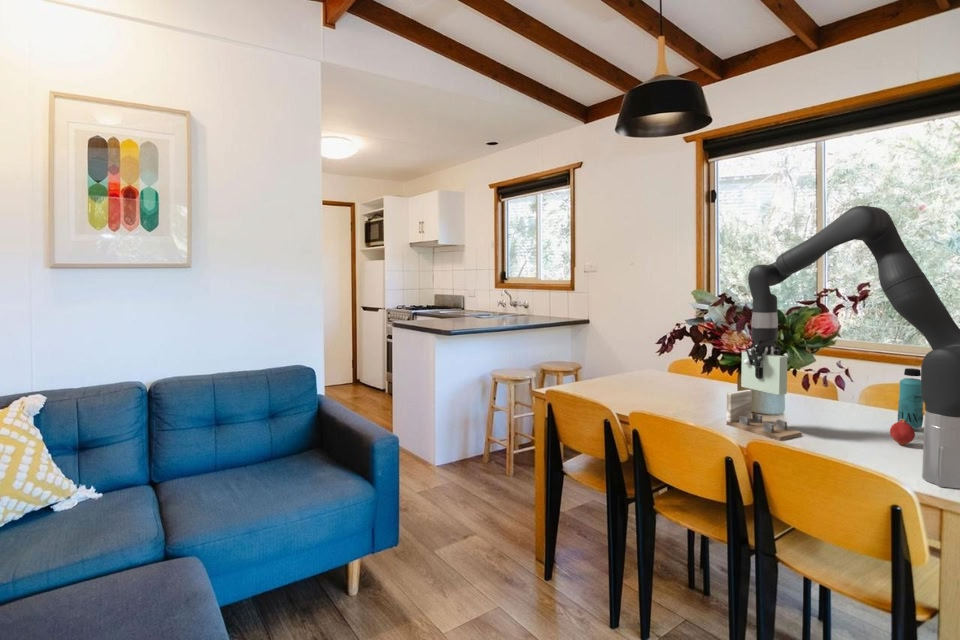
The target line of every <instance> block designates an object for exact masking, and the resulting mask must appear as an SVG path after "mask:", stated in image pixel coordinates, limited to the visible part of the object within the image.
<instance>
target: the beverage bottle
mask: <svg viewBox="0 0 960 640" xmlns="http://www.w3.org/2000/svg"><path fill="white" fill-rule="evenodd" d="M903 375H904V376H907V378H906V377H904V378H902V379H901V380H899V393H898V406H897V422H899V421H900V420H901V419H904V420H905V421H906V422H907V423H908V424H909V425H911V426H912V427H913V428H914V429H916V428H922V427H923V423H924V416H925V411H924V401H923V399H922V394H921V378H920V379H919V378H913V377H921V369H919V368H910V367H908V368H905V369H904V373H903ZM909 377H910V378H909ZM897 422H896V423H897Z"/></svg>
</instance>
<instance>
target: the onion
mask: <svg viewBox="0 0 960 640" xmlns="http://www.w3.org/2000/svg"><path fill="white" fill-rule="evenodd" d="M889 434H890V435H889V436H890V437H891V438H892V439H893V441H895V442H896V443H898V445H900V446H905V445H907V444H910V443H911V442H912V441H914V439H915V437H916V431H915V428H914V427H912V426H911V425H909V424H908V423H907V422H906V421H905V420H904V419H901V420H900V421H899V422H895V423H893V424H892V425H891V426H890V428H889Z"/></svg>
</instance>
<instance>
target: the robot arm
mask: <svg viewBox="0 0 960 640" xmlns="http://www.w3.org/2000/svg"><path fill="white" fill-rule="evenodd" d="M855 240H856V241H861V242H863V244H864V245H866V247H867V248H868V250H869V251H870V252H871V254H872V255H873V258H874V259H875V261H876V264H877V270H878V273H877V275H878V280H879V284H880V287H881V289H882V290H881V291H883V293H884V295H885V297H886V298H887V300H888V302H889V304H890V305H891V306H892V308H893V309H894V310H895V312H896V313H898V314H899V315H900V316H901V317H902V318H903V319H904V320H905V321H906V322H908V323H909V324H910V325H912V326H913V327H914V328H915V329H916V330H918V331H919V332H920V334H921V335H922V336H923V337H924V338H925V340H926V341H927V343H928V345H929V346H930V347H931V350H930V351H929V352H928V353H926V354H925V356H924V357H923V359H922V362H921V367H920V368H921V369H920V372H921V376H920V380H921V394H922V399H923V401H924V402H923V404H924V420H923V425H924V426H923V445H922V446H923V447H922V472H921V473H922V474H921V477H922V479H923V480H925V481H926V482H929V483H932V484H934V485H937V486H938V487H941V488H942V487H943V488H951V489H959V490H960V327H959V325H957V323H956V322H955V320H954V319H953V317H952V315H951V313H949V311H948V309H947V307H946V306H945V305H944V304H945V303H943V301H942V300H941V298H940V297H939V295H938V294H937V292H936V290H935V289H934V287H933V285H932V284H931V282H930V280H929V279H928V277H927V276H926V274H925V273H924V272H923V271H922V269H921V267H920V265H919V264H918V263H917V261H916V260H915V258H914V256H913V255H912V254H911V252H910V251H909V250H908V248H907V247H906V246H905V244H904V242H903V240H902V238H901V235H900V234H899V231H898V230H897V227H896V225H895V223H894V221H893V219H892V217H891V215H890V214H889V213H888V212H887V210H885V209H883V208H881V207H876V206H869V205H857V206H854V207H851V208H849V209H848V210H847V211H845V212H844V213H842V214H841V215H840V216H838V217H837V218H835V220H833V221H832V222H830V224H828V225H827V226H825V227H823V228H822V229H821V230H820V231H818V232H817V233H815V234H814V235H812V236H811V237H810V238H808V239H807V240H804V241H802V242H801V243H799V244H797V245H795V246H794V247H792V248H790V249H788V250H787V251H785V252H783V253H781V254H779V256H777V258H776V260H775V261H774V262H773V263H770V264H757V265H754V266H752V268H751V269H750V271H749V273H748V278H747V281H748V282H747V283H748V287H749V290H750V294H751V297H752V315H751V332H750V333H751V335H750V336H751V337H750V338H751V341H753V345H752V347H751V348H746V351H747V355H748V359H749V362H750V365H753V366H755V376H756V378H758V379H762V378H763V368H762V367H763V361H764V360H765V355H768V354H770V355H772V354H773V355H780V354H781V351H782V346H778V345H776V343H775V342H777V341H778V331H779V329H778V328H779V327H778V326H779V323H778V322H779V318H778V297H777V295H775V294H774V293H773V294H772V292H771V289H770V287H773V286H776V285H778V284H781V283H783V282H784V281H785V280H787V279H788V278H789V277H791V276H792V275H793V274H796V273H798V272H799V271H802V270H804V269H805V268H807V267H809V266H811V265H813V264H814V263H816V262H817V261H819V260H820V259H821V258H822V257H823V255H825V254H826V253H827V252H829V251H830V250H832V249H834V248H836V247H837V246H840V245H843V244H845V243H848V242H850V241H855ZM746 351H745V352H746ZM757 356H759V357H761V358H758V357H757ZM780 356H781V355H780ZM753 360H754V362H753ZM758 360H760V363H759V362H758Z"/></svg>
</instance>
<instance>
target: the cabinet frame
mask: <svg viewBox="0 0 960 640" xmlns="http://www.w3.org/2000/svg"><path fill="white" fill-rule="evenodd" d="M752 390H753V389H744V390H737V391H730V392H726V425H727V426H729V427H730V426H731V427H733V428H737V429H739V430H744V431H747V432H750V433H753V434H757V435H760V436H763V437H766V438H769V437H770V439H773V438H774V439H773V440H777V441H785V440H789V439H794V438H798V437H802V435H803V433H802V431H798V430H796V429H795V430H794V429H792V428H791V429H790V428H788V422H787V421H785V420H782V419H775V422H776V424H774V423H770V422H766V421H763V414H759V413H756V412H754V413H752V403H753V402H752V401H753V400H752V396H753V395H752V394H753V393H752Z"/></svg>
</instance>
